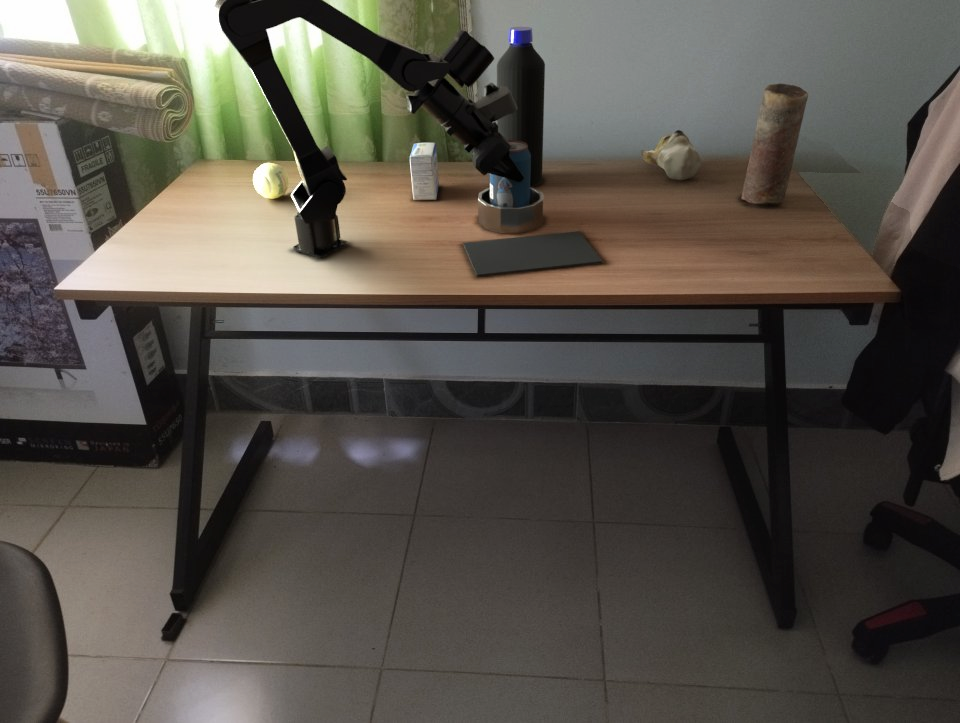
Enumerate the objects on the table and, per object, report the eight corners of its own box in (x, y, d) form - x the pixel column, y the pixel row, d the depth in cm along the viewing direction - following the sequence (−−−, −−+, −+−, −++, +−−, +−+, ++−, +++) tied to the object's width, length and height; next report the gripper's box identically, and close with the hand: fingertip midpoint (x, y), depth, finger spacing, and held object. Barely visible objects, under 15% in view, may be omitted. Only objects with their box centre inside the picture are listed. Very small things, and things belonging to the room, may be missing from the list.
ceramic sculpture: (663, 139, 138) (640, 122, 151) (658, 185, 143) (636, 164, 156) (718, 137, 139) (691, 120, 152) (712, 183, 144) (686, 162, 157)
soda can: (522, 204, 133) (523, 137, 127) (534, 218, 128) (536, 149, 121) (485, 208, 132) (484, 140, 125) (496, 222, 126) (496, 153, 120)
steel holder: (521, 238, 124) (521, 213, 122) (466, 224, 130) (465, 200, 127) (553, 216, 132) (554, 191, 129) (500, 204, 137) (500, 180, 135)
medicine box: (436, 200, 139) (433, 155, 135) (412, 201, 140) (409, 155, 135) (439, 185, 146) (436, 142, 141) (416, 186, 146) (413, 142, 141)
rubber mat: (476, 277, 113) (476, 274, 112) (463, 245, 123) (462, 242, 122) (602, 263, 116) (602, 261, 116) (579, 233, 126) (579, 230, 125)
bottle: (538, 189, 143) (542, 33, 128) (494, 187, 145) (492, 32, 129) (544, 174, 150) (548, 24, 135) (501, 172, 152) (501, 24, 136)
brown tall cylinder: (779, 194, 138) (803, 83, 127) (789, 209, 132) (815, 93, 121) (737, 194, 139) (757, 83, 128) (745, 209, 133) (766, 93, 122)
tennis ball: (271, 206, 139) (264, 171, 135) (248, 199, 142) (241, 165, 138) (297, 196, 143) (292, 162, 139) (274, 189, 146) (268, 156, 143)
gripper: (497, 84, 109) (566, 154, 116) (477, 59, 124) (539, 122, 132) (445, 141, 112) (516, 206, 119) (432, 109, 127) (495, 168, 135)
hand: (518, 173), depth 126 cm, fingers closed on soda can, 7 cm apart
